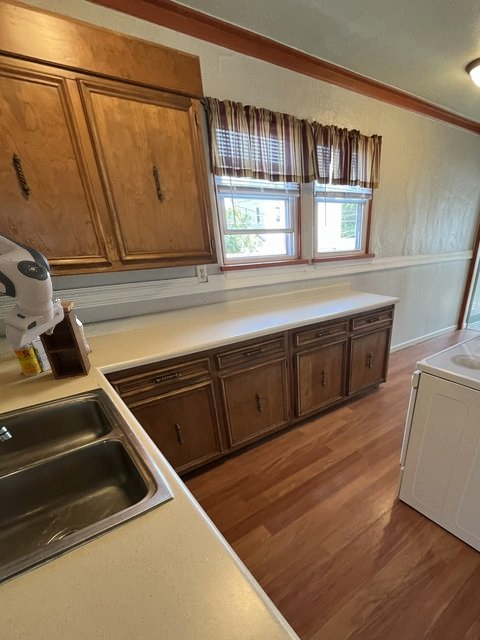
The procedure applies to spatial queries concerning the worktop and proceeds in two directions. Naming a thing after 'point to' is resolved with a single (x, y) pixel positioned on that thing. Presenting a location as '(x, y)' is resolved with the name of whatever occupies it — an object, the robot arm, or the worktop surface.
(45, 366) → the syrup box
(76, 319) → the plastic bottle
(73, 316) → the nightstand
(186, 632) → the worktop surface
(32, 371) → the beer can
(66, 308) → the shelf
